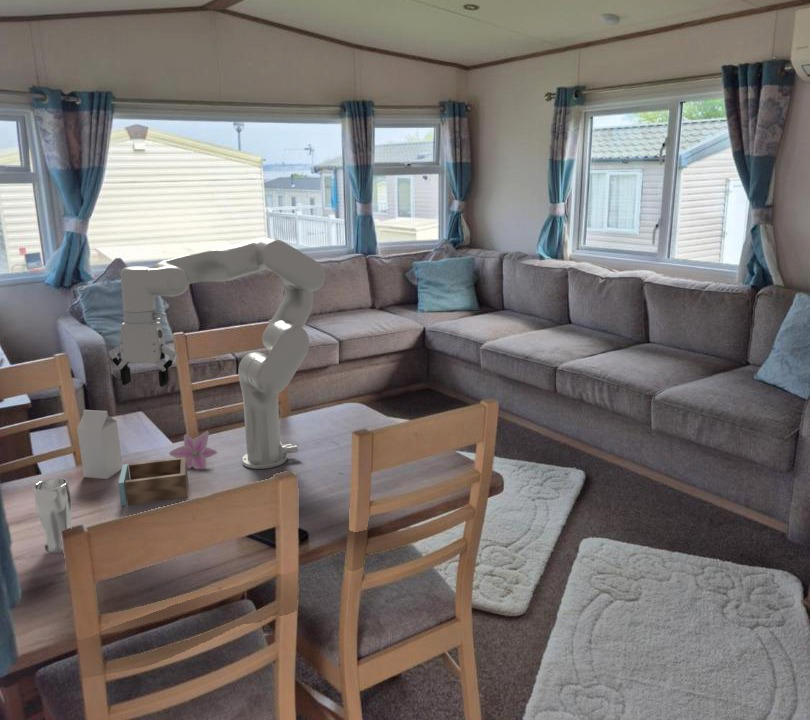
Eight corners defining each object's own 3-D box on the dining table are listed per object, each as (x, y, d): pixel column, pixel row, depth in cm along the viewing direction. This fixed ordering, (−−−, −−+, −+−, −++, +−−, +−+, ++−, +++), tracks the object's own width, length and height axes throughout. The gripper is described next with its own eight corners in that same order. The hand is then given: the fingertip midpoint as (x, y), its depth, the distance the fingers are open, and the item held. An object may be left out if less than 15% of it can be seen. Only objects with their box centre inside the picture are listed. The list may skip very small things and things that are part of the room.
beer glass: (54, 557, 148) (44, 493, 144) (36, 548, 152) (25, 486, 148) (84, 543, 154) (75, 481, 150) (65, 535, 157) (56, 474, 154)
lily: (167, 471, 194) (161, 449, 187) (195, 443, 202) (191, 422, 195) (200, 490, 190) (195, 469, 184) (228, 461, 198) (224, 439, 191)
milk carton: (107, 483, 184) (98, 415, 179) (84, 481, 186) (74, 414, 181) (123, 472, 191) (115, 407, 186) (100, 470, 192) (91, 405, 188)
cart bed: (188, 481, 184) (185, 456, 182) (188, 501, 173) (185, 474, 171) (132, 489, 180) (129, 463, 179) (128, 509, 169) (125, 482, 167)
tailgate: (130, 485, 180) (127, 463, 178) (126, 505, 169) (123, 482, 167) (125, 485, 180) (122, 464, 178) (121, 505, 169) (118, 483, 167)
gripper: (180, 316, 172) (184, 382, 176) (114, 313, 174) (119, 379, 178) (167, 321, 165) (172, 390, 169) (98, 318, 167) (104, 386, 171)
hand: (145, 384), depth 174 cm, fingers open, 9 cm apart
